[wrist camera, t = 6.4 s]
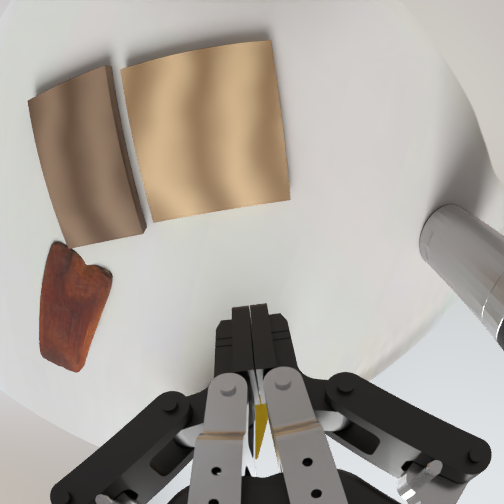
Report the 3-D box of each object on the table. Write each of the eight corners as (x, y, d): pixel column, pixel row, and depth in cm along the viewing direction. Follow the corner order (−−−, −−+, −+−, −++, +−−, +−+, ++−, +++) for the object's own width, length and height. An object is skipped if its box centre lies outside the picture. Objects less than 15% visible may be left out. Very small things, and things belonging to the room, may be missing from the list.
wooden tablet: (54, 234, 31) (48, 240, 29) (119, 271, 34) (115, 278, 33) (36, 350, 41) (32, 356, 39) (81, 375, 44) (79, 382, 42)
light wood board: (268, 43, 23) (270, 40, 21) (287, 195, 30) (290, 199, 29) (125, 70, 23) (120, 69, 21) (156, 217, 30) (153, 222, 29)
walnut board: (111, 66, 22) (104, 65, 21) (146, 227, 31) (142, 233, 29) (36, 99, 22) (27, 100, 21) (74, 242, 31) (68, 248, 29)
